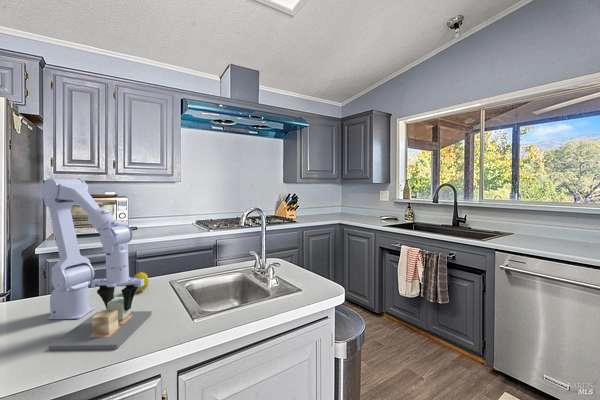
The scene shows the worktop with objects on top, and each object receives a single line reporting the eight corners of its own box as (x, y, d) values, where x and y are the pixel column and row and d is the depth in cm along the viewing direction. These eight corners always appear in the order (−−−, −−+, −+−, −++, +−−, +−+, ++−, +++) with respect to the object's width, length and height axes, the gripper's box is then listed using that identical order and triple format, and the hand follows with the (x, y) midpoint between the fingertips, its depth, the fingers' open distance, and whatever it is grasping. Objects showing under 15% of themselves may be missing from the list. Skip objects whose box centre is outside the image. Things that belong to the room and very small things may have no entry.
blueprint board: (49, 350, 74) (48, 345, 73) (97, 315, 92) (97, 311, 92) (117, 349, 74) (116, 344, 74) (151, 314, 93) (151, 310, 93)
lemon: (144, 288, 116) (144, 268, 115) (151, 291, 113) (151, 271, 112) (130, 292, 111) (129, 272, 111) (137, 295, 108) (136, 275, 108)
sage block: (107, 319, 85) (107, 303, 85) (116, 312, 89) (115, 296, 89) (122, 319, 85) (122, 303, 85) (130, 312, 90) (130, 297, 89)
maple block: (92, 335, 78) (91, 317, 78) (102, 326, 83) (102, 310, 83) (109, 334, 79) (108, 317, 78) (118, 326, 83) (117, 309, 83)
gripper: (83, 270, 82) (85, 316, 83) (135, 269, 83) (136, 315, 83) (99, 262, 89) (101, 305, 90) (147, 262, 90) (148, 304, 91)
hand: (119, 309), depth 87 cm, fingers open, 5 cm apart
